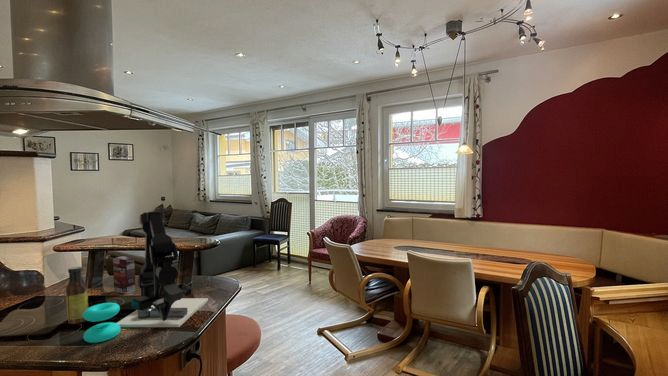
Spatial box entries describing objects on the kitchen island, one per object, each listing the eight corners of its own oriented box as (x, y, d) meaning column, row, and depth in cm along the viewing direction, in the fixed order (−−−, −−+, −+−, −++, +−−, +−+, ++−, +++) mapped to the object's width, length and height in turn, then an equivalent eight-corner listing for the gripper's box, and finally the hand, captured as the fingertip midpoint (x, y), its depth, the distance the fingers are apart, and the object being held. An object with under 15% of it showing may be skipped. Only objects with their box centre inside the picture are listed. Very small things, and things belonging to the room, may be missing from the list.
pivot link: (134, 318, 120) (134, 308, 119) (143, 313, 125) (142, 302, 124) (182, 318, 119) (182, 307, 119) (188, 312, 124) (188, 302, 124)
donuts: (80, 307, 108) (116, 299, 115) (81, 337, 108) (116, 327, 115) (85, 315, 101) (123, 306, 108) (86, 347, 101) (123, 336, 108)
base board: (114, 327, 115) (114, 324, 115) (154, 300, 140) (154, 298, 140) (179, 327, 115) (178, 324, 115) (208, 300, 140) (207, 298, 140)
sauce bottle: (93, 319, 122) (91, 266, 122) (75, 326, 116) (73, 270, 116) (80, 316, 125) (79, 264, 124) (62, 323, 119) (60, 269, 118)
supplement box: (113, 292, 152) (112, 258, 151) (123, 289, 156) (122, 255, 156) (126, 294, 149) (125, 259, 148) (136, 290, 153) (135, 257, 153)
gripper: (147, 287, 103) (149, 337, 103) (200, 273, 118) (201, 316, 119) (130, 282, 109) (131, 328, 109) (182, 268, 124) (183, 309, 125)
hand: (164, 320), depth 115 cm, fingers closed
